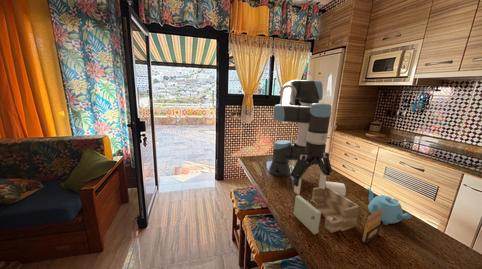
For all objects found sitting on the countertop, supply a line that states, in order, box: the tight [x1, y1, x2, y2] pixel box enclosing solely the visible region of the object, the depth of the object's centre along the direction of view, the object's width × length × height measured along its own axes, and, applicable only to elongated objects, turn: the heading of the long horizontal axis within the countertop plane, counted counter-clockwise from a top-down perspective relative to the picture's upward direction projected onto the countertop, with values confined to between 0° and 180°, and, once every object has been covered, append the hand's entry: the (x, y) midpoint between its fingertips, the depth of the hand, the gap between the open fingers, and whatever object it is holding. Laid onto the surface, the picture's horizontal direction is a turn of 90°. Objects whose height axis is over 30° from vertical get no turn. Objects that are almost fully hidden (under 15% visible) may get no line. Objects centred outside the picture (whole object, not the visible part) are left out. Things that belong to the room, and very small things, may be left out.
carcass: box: [306, 186, 361, 234], centre depth 89 cm, size 19×14×10 cm
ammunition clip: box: [360, 209, 382, 244], centre depth 77 cm, size 11×2×12 cm, turn 121°
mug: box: [325, 180, 347, 198], centre depth 110 cm, size 12×10×8 cm
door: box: [293, 194, 322, 235], centre depth 83 cm, size 14×3×10 cm, turn 23°
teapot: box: [367, 187, 413, 226], centre depth 89 cm, size 15×14×11 cm
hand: (309, 190), depth 81 cm, fingers open, 13 cm apart
